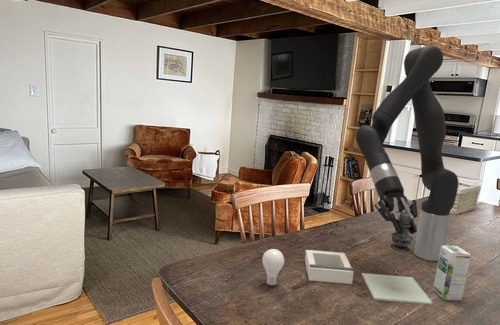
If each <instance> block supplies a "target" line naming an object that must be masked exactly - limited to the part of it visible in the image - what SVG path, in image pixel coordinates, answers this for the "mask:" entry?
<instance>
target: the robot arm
mask: <svg viewBox="0 0 500 325" xmlns="http://www.w3.org/2000/svg"><path fill="white" fill-rule="evenodd" d="M404 57H405V58H404V60H403V68H404V73H405V78H404V79H403V80H402V81H401V82H400V83H399V84H398V85H397V86H396V87H395V88H394V89H393V90H391V91H390V93H389V94H388V95H386V96H385V98H384V99H383V100H382V101H381V103H380V104H379V105H378V107H377V108H376V110H375V111H374V112H373V114H372V115H371V116H372V117H371V119H372V124H371V125H368V124H366V125H365V124H364V125H362V126H360V127H358V129H357V130H356V132H355V141H356V144H357V145H358V148H359V150H360V153H362V155H363V157H364V159H365V162H366V166H367V168H368V171H369V173H370V176H371V180H372V183H373V186H374V188H375V190H376V193H377V196H378V198H379V199H380V200H378V201H377V202H375V204H374V207H375V209H376V210H377V211H378V212H379V214H380V215H381V217H382V218H383V219H384V221H386V222H390V223H391V224H392V225H393V227H394V229H395V233H396V232H397V233H398V235H402V234H403V233H405V230H404V228H403V226H402V223H401V221H400V220H399V218H400V213H401V212H405V210H406V209H407V212H408V213H409V214H410V215H411V219H410V225H411V226H410V227H409V235H414V234H416V237H415V244H414V250H413V254H414V255H415V256H416V257H418V258H420V259H422V260H425V261H430V262H438V260H439V255H440V250H441V246H446V245H448V241H449V234H447V230H448V225H449V219H450V215H451V214H450V210H451V209H452V207H453V206H454V202H455V198H456V194H457V190H458V180H459V177H458V175H457V174H456V173H455V172H453V171H452V170H450V169H447V168H446V167H445V166H444V162H443V156H442V154H443V153H442V150H443V146H444V145H443V144H444V142H445V138H446V134H447V122H446V117H445V116H446V114H445V111H444V108H443V107H442V104H441V103H440V102H439V100H438V98H437V97H436V95H435V94H434V92H433V90H432V86H431V84H430V83H431V82H430V79H431V78H432V77H433V76H434V75H435V74H436V73H437V72H438V71H439V70H440V68H441V67H442V65H443V62H444V53H443V51H442V49H441V48H439V47H438V46H436V45H426V46H421V47H418V48H415V49H412V50H410V51H409V52H408V53H406V54H405V56H404ZM410 101H411V103H412V104H411V105H412V108H413V115H414V124H415V128H416V129H415V130H416V135H417V142H418V146H419V147H418V148H419V154H420V166H421V170H420V171H421V181H422V184H423V186H424V187H425V188H426V189H427V190H429V195H428V199H427V200H424V201H422V202H421V206H420V213H419V214H418V205H417V200H416V199H412V200H411V199H408V198H407V197H406V195H405V193H404V190H405V189H404V187H403V184H402V182H401V180H400V177H399V175H398V173H397V171H396V168H395V167H394V166H393V163H392V161H391V159H390V157H389V154H388V153H387V151H386V150H385V149H384V147H383V145H384V143H385V141H386V139H387V136H388V134H389V132H390V129H391V127H392V125H393V124H394V123H395V121H396V120H397V119H398V118H399V116H400V115H401V113H402V111H403V110H404V109H405V107H406V106H407V105H408V104H409V102H410ZM418 215H419V216H418ZM418 217H419V218H418ZM416 218H418V226H416V223H415V221H414V219H416Z"/></svg>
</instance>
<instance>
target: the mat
mask: <svg viewBox="0 0 500 325" xmlns="http://www.w3.org/2000/svg"><path fill="white" fill-rule="evenodd" d="M361 277H362V279H363V281H364V283H365V285H366V286H367V288H368V291H369V292H370V294H371V296H372V298H373V300H374V301H386V302H396V303H408V304H418V305H431V306H432V305H433V302H432V300H431V298H430V297H429V296H428V295H427V293H425V291H424V290H423V289H422V288H421V286H420V285H419V284H418V283H417V281H416V280H415V278H414V277H412V276H411V277H410V276H403V275H402V276H398V275H388V274H377V273H367V272H366V273H365V272H361Z"/></svg>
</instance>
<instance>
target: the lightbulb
mask: <svg viewBox="0 0 500 325" xmlns="http://www.w3.org/2000/svg"><path fill="white" fill-rule="evenodd" d="M261 261H262V265H263V267H264V269H265V272H266V275H267V278H266V284H267V285H268V286H275V285H276V284H277V277H278V274H279V272H280V271H281V269H282V268H283V267H284V264H285V257H284V255H283V253H282V252H281V251H280V250H279V249H276V248H270V249H268V250H266V251H265V252H264V253H263V255H262V260H261Z"/></svg>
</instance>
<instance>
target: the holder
mask: <svg viewBox="0 0 500 325" xmlns="http://www.w3.org/2000/svg"><path fill="white" fill-rule="evenodd" d="M304 264H305V268H306V273H307V278H308V281H309V282H310V281H311V282H312V281H313V282H322V283H323V282H325V283H333V284H334V283H336V284H343V285H344V284H346V285H353V279H354V267H352V266H351V264H350V262H349V260H348V257H347V256H346V253H344V252H339V251H338V252H337V251H324V250H314V249H313V250H312V249H311V250H310V249H305V257H304Z"/></svg>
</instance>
